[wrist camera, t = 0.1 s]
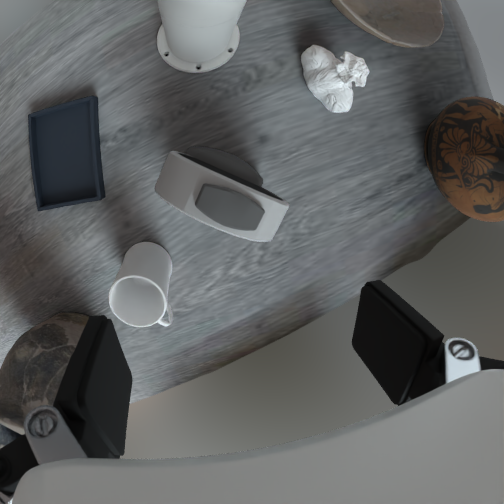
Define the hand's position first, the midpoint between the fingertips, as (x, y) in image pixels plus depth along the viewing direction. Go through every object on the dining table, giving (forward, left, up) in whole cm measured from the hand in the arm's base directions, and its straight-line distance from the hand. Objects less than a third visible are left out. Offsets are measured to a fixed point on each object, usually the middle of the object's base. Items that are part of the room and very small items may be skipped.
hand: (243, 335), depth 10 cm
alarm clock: (0, +2, -37) cm, 37 cm away
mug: (+14, -10, -37) cm, 41 cm away
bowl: (-37, +30, -37) cm, 60 cm away
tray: (-8, -22, -37) cm, 43 cm away
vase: (-7, +51, -37) cm, 63 cm away
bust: (-17, +20, -37) cm, 45 cm away
